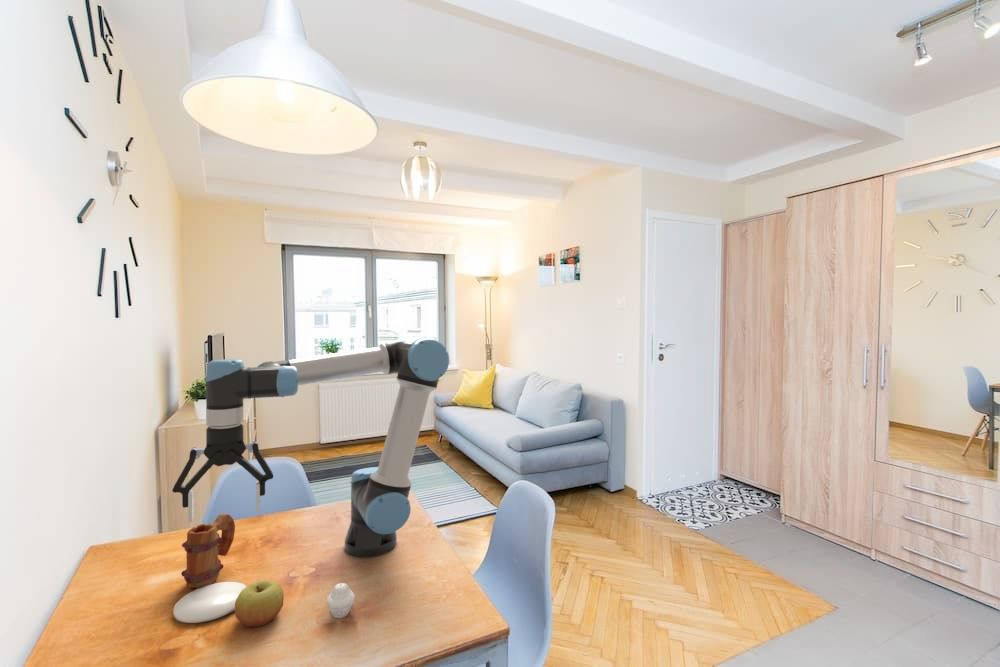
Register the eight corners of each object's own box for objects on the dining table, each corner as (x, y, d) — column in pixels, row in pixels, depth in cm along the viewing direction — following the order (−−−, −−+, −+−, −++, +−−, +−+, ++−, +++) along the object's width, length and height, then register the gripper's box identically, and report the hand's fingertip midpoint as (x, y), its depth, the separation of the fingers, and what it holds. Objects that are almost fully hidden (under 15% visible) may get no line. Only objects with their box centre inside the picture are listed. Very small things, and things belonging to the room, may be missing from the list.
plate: (258, 585, 117) (258, 579, 117) (232, 622, 102) (232, 616, 102) (194, 589, 115) (194, 583, 115) (158, 628, 100) (158, 622, 100)
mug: (200, 595, 112) (200, 534, 112) (172, 591, 114) (172, 531, 113) (245, 565, 126) (245, 511, 126) (219, 561, 128) (219, 508, 128)
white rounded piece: (332, 605, 109) (332, 576, 109) (358, 606, 109) (358, 576, 108) (321, 622, 102) (322, 591, 102) (348, 623, 102) (349, 592, 102)
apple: (231, 638, 97) (231, 601, 97) (237, 612, 106) (237, 577, 106) (282, 627, 101) (283, 591, 101) (284, 602, 110) (284, 569, 110)
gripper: (282, 417, 117) (282, 499, 118) (162, 427, 105) (163, 518, 106) (284, 423, 111) (284, 510, 111) (156, 434, 99) (157, 531, 99)
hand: (225, 514), depth 108 cm, fingers open, 13 cm apart
